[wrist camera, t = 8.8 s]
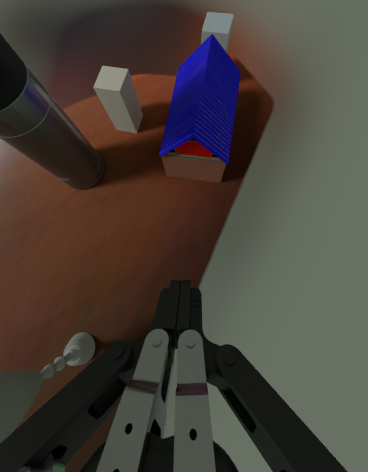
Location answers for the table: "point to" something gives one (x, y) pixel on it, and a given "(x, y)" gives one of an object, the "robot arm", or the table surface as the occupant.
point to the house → (201, 115)
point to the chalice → (36, 382)
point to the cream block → (119, 98)
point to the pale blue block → (218, 28)
